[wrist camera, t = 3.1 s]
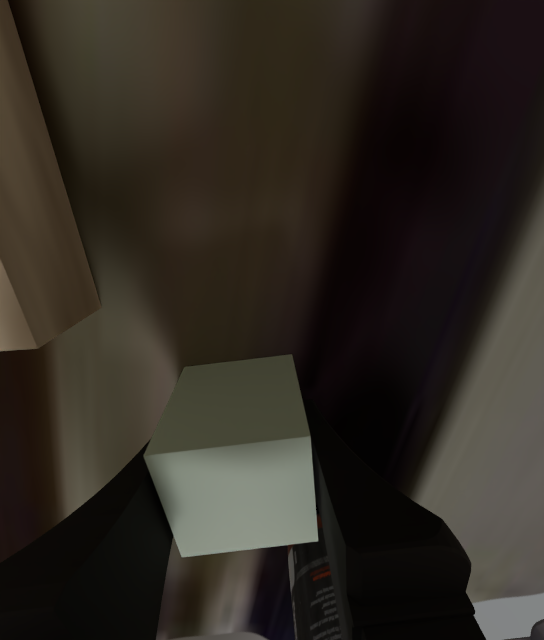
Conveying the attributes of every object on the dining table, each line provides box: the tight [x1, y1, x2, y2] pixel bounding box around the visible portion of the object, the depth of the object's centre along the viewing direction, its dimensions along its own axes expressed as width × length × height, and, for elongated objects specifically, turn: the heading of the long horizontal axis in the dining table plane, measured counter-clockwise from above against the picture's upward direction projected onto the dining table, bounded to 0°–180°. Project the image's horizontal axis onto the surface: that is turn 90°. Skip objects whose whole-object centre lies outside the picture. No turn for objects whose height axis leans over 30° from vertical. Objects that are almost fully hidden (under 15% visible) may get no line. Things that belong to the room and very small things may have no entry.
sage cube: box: [144, 354, 318, 557], centre depth 12 cm, size 5×5×5 cm
